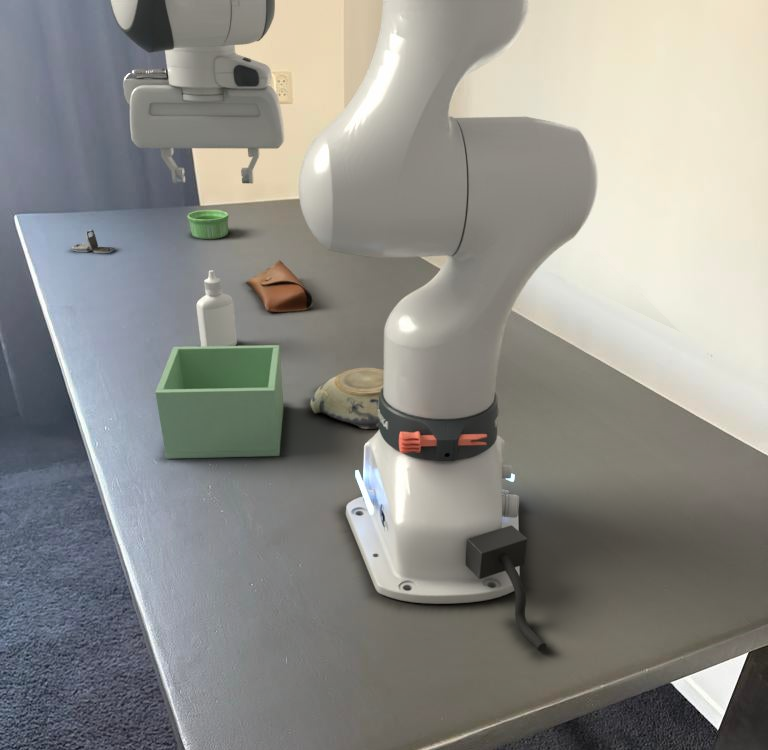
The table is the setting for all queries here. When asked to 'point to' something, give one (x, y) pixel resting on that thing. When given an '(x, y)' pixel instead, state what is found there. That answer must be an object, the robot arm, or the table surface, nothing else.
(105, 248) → the strap clip
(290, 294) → the sunglasses case
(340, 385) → the decorative bowl
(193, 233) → the ramekin
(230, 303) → the eye dropper bottle
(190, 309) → the table surface
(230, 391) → the bin
